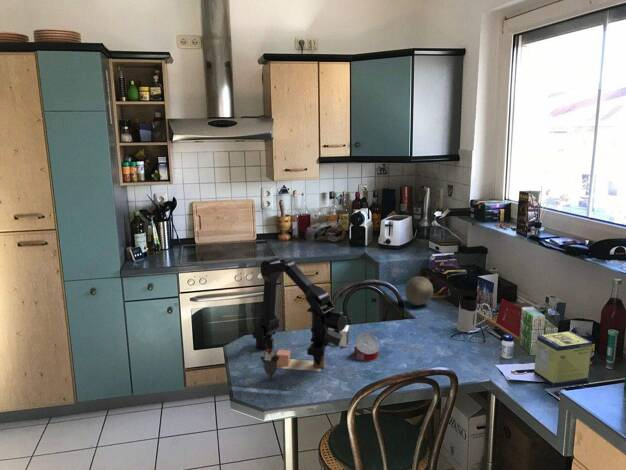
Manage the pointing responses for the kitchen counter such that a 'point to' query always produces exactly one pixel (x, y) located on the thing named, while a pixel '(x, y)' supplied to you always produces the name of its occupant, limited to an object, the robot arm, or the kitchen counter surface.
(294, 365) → the strip
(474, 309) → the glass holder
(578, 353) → the protein box
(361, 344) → the canned food
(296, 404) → the kitchen counter surface
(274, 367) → the sundae
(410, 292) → the cantaloupe
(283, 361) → the block
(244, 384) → the kitchen counter surface
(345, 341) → the medicine bottle
